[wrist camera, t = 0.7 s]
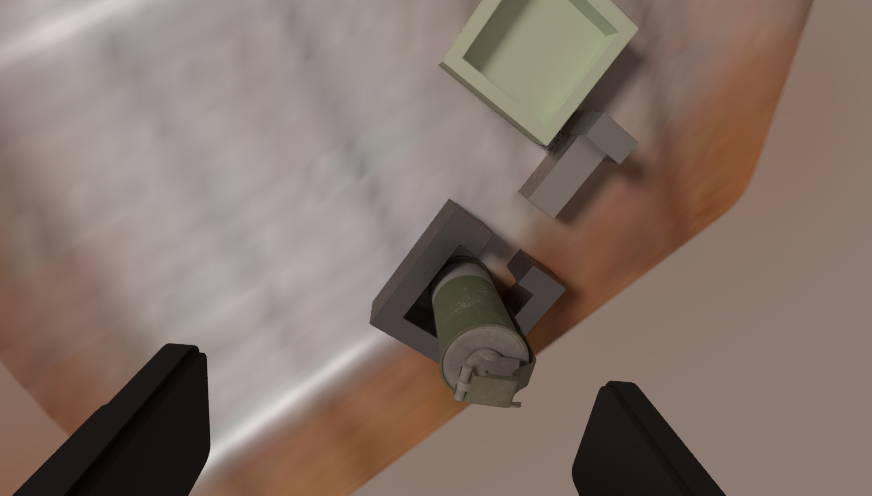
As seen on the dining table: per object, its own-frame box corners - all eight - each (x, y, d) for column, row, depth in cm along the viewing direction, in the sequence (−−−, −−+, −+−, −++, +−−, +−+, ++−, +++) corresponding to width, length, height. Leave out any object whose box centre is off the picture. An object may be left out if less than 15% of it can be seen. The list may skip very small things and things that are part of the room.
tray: (520, -58, 29) (533, -76, 26) (616, 35, 32) (638, 28, 29) (438, 65, 32) (442, 61, 29) (534, 142, 34) (546, 146, 31)
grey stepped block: (576, 110, 34) (604, 112, 29) (606, 136, 34) (638, 142, 30) (515, 188, 35) (532, 202, 31) (545, 212, 36) (566, 228, 32)
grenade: (422, 308, 39) (433, 427, 25) (436, 250, 37) (457, 342, 23) (486, 318, 40) (532, 438, 25) (502, 262, 38) (562, 358, 24)
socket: (449, 198, 35) (454, 210, 31) (550, 270, 38) (566, 288, 35) (372, 301, 38) (369, 323, 34) (473, 361, 41) (480, 387, 37)
